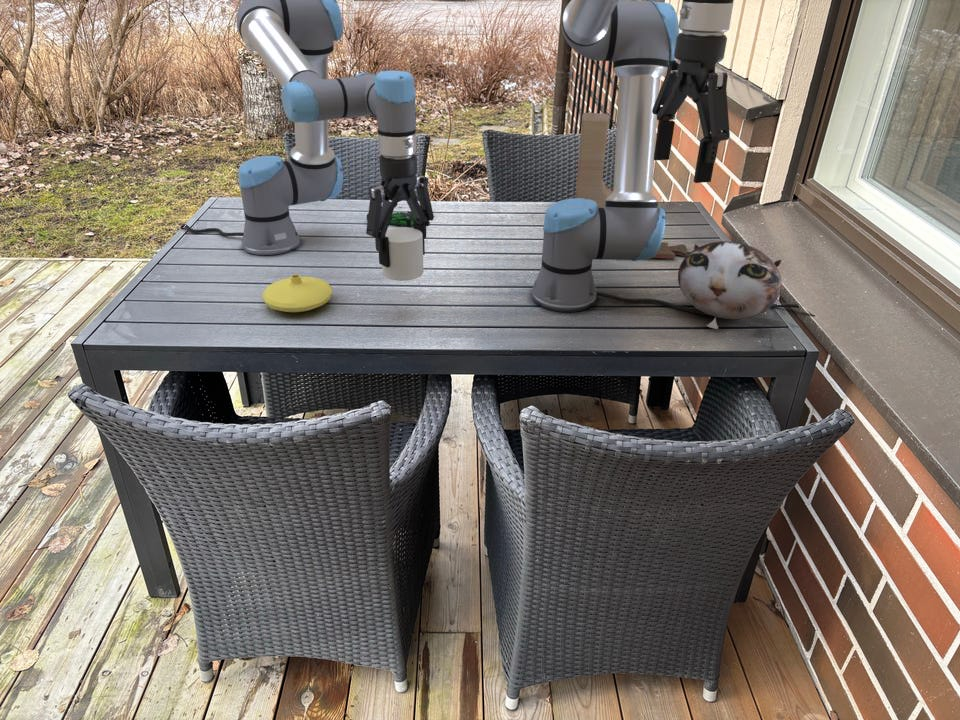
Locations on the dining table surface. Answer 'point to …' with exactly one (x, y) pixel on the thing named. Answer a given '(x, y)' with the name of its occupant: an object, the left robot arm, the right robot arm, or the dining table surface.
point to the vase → (297, 294)
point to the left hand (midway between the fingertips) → (402, 259)
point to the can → (404, 254)
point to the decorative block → (592, 159)
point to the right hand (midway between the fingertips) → (680, 170)
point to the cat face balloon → (729, 280)
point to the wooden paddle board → (670, 251)
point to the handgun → (402, 219)
